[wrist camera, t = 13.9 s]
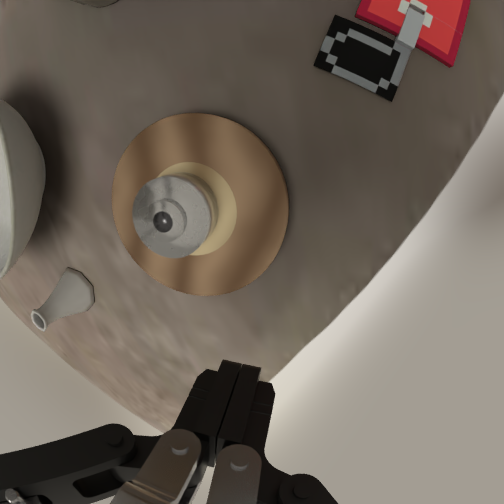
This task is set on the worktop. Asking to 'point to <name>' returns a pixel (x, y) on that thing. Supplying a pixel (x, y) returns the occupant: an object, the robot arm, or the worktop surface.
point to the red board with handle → (386, 50)
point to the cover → (175, 214)
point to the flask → (65, 299)
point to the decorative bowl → (18, 185)
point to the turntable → (226, 192)
